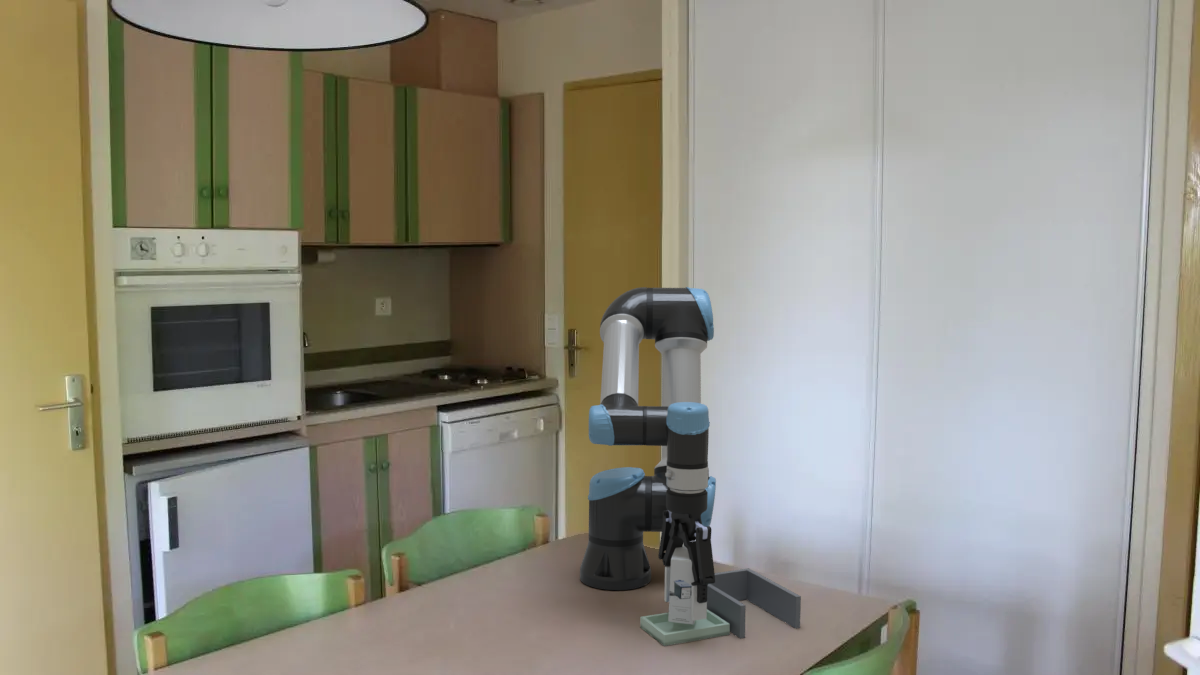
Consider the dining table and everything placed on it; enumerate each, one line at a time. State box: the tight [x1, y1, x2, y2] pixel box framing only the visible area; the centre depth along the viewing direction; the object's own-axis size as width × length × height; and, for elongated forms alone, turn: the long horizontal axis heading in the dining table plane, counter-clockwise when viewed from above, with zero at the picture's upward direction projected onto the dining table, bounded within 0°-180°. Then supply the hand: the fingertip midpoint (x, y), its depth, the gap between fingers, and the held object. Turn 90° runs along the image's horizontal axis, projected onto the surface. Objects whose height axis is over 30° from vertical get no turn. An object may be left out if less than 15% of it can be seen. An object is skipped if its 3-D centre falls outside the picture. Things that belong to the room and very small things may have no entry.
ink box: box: [668, 545, 695, 624], centre depth 174 cm, size 9×5×12 cm, turn 168°
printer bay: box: [707, 568, 802, 640], centre depth 181 cm, size 18×13×6 cm
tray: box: [639, 609, 731, 647], centre depth 174 cm, size 9×13×2 cm
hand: (684, 609), depth 174 cm, fingers closed on ink box, 9 cm apart
